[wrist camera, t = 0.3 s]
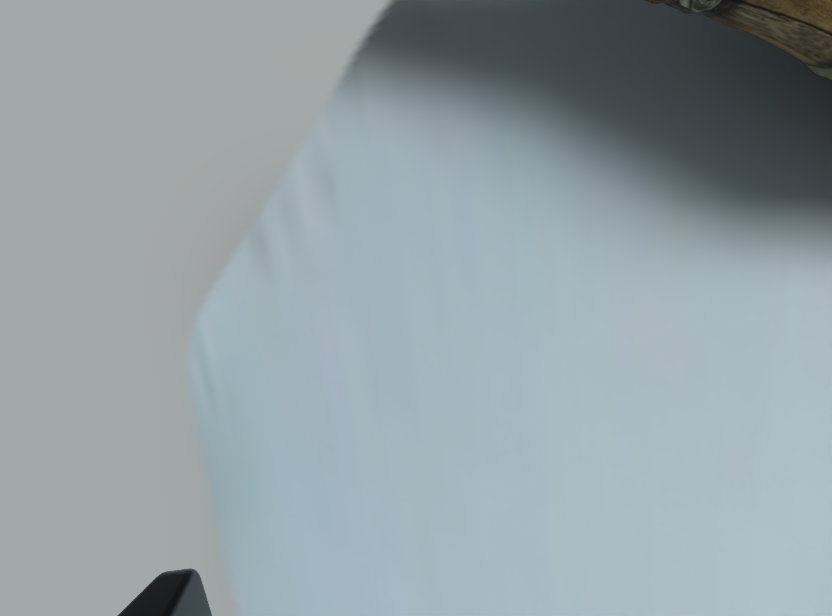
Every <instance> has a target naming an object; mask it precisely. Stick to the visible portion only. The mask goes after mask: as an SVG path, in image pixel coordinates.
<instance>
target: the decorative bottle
mask: <svg viewBox="0 0 832 616" xmlns="http://www.w3.org/2000/svg"><path fill="white" fill-rule="evenodd" d="M645 1H648V2H651V3H663V2H664V3H665V4H667V5H669V6H671V7H674V8H676V9H678V10H680V11H682V12H683V13H685V14H703V15H705V16H708V17H710V18H712V19H715V20H717V21H719V22H721V23H724V24H726V25H728V26H731V27H734V28H738V29H741V30H743V31H745V32H747V33H749V34H752V35H755V36H757V37H759V38H762V39H764V40H766V41H767V42H769V43H770V44H772V45H774V46H776V47H778V48H780V49H782V50H784V51H786V52H788V53H789V54H791V55H793V56H794V57H795V58H797V59H799V60H800V61H801V62H803V63H804V64H805V65H806V66H807V67H808V68H809V69H811V70H812V71H813V72H814V73H815V74H817V75H820V76H824V77H827V78H828V79H830V80H831V81H832V0H645Z"/></svg>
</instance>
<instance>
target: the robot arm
mask: <svg viewBox="0 0 832 616" xmlns="http://www.w3.org/2000/svg"><path fill="white" fill-rule="evenodd" d="M118 616H212V614H211V611H210V608H209V604H208V601H207V597H206V594H205V591H204V587H203V584H202V581H201V578H200V575H199V574H198V572H197V571H196V570H194V569H183V570H175V571H167V572H164V573H162V574H160V575H159V576H158V577H156V578H155V579H154V580H153V581H152V582H151V583H150V584H149V585H148V586H147V587H146V588H145V589H144V590H143V591H142V592H141V593H140V594H139V595H138V596H137V597H136V598H135V599H134V600H133V601H132V602H131V603H130V604H129V605H128V606H127V607H126V608H125V609H124V610H123V611H122V612H121V613H120V614H119V615H118Z"/></svg>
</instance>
